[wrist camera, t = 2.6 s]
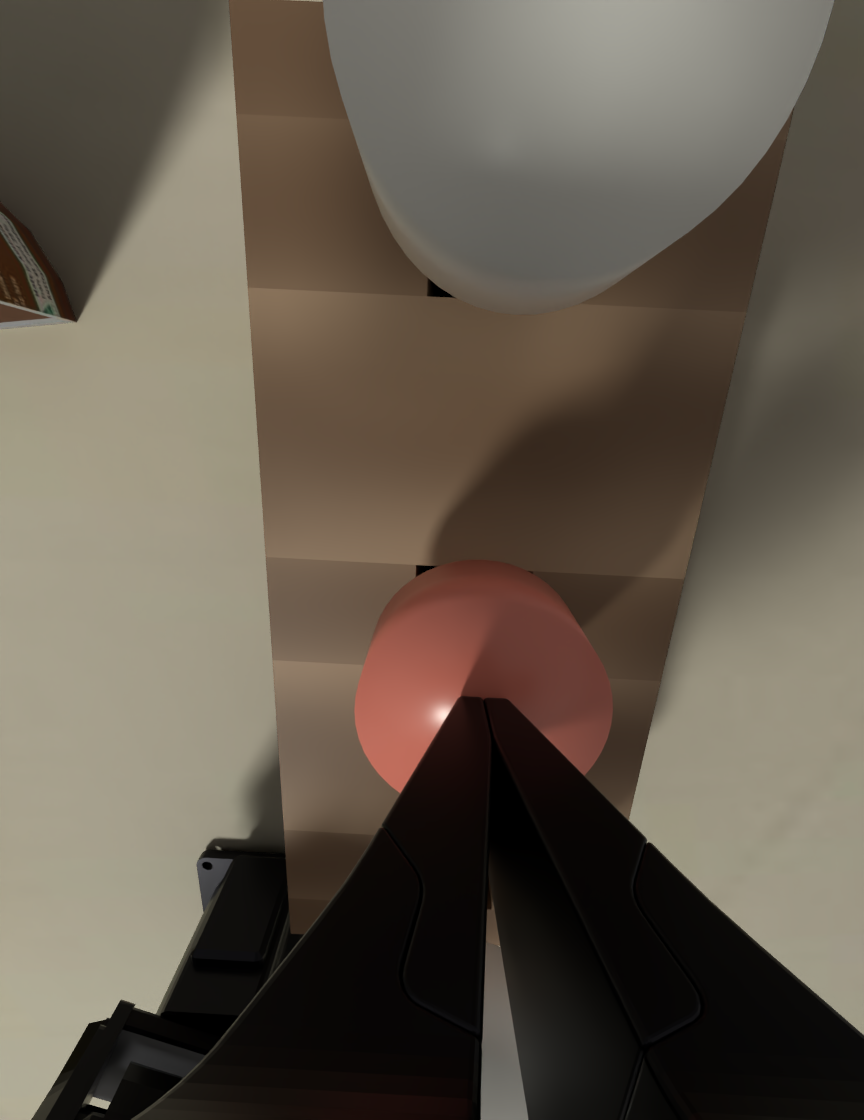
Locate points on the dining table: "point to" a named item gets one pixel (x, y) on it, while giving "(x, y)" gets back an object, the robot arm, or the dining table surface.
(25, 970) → the dining table surface
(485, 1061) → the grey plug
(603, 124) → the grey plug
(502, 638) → the salmon round-head knob
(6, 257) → the food container
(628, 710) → the walnut plug block
